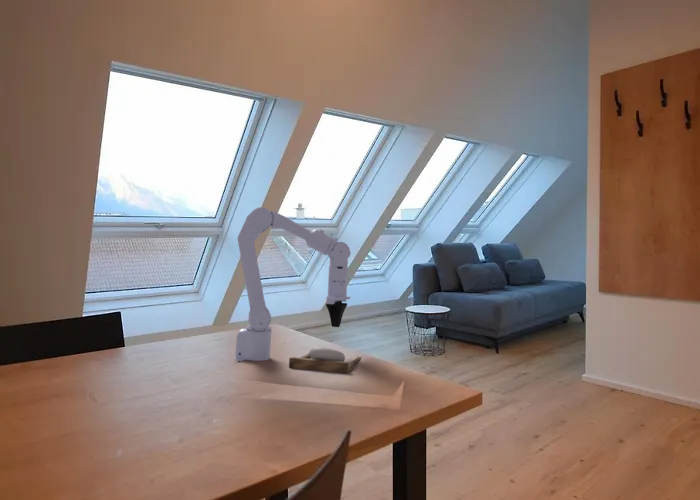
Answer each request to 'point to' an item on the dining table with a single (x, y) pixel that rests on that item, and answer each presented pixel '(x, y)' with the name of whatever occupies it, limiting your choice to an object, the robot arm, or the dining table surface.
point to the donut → (326, 354)
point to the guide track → (321, 364)
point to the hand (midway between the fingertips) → (335, 326)
